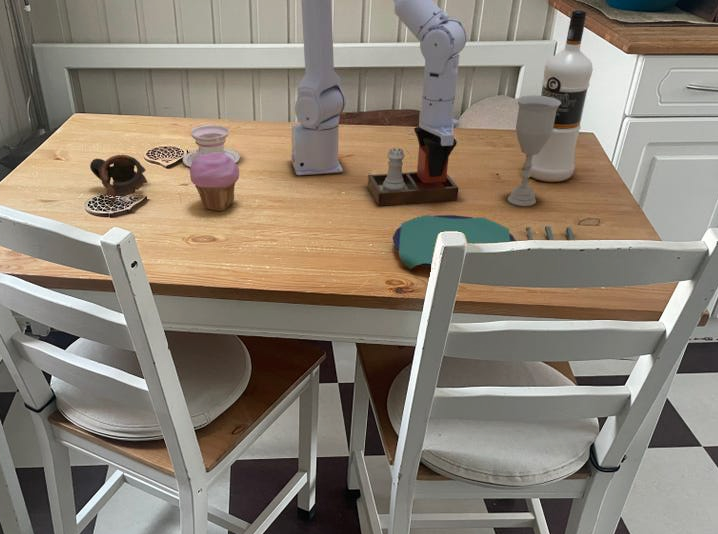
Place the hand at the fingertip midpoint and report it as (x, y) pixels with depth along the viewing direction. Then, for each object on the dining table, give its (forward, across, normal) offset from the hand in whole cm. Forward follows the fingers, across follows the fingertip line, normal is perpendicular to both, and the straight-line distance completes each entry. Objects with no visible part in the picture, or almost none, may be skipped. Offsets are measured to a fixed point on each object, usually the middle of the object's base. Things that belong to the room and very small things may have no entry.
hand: (431, 171), depth 136 cm
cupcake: (+4, 0, +40) cm, 41 cm away
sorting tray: (+4, 0, +4) cm, 6 cm away
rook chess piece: (+4, 0, +7) cm, 8 cm away
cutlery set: (+4, -26, -2) cm, 26 cm away
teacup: (+4, +24, +40) cm, 47 cm away
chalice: (+4, -6, -16) cm, 18 cm away
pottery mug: (+4, +10, +58) cm, 59 cm away
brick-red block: (+1, 0, 0) cm, 1 cm away
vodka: (+4, +4, -26) cm, 26 cm away
